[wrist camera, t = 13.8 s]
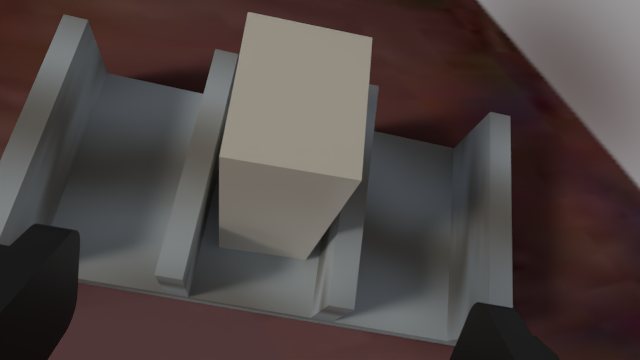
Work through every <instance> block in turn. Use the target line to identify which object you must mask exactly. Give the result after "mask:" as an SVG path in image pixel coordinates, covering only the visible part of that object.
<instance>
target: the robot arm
mask: <svg viewBox="0 0 640 360" xmlns="http://www.w3.org/2000/svg"><path fill="white" fill-rule="evenodd" d="M79 256H80V234H79V232H78V231H77V230H72V229H66V228H61V227H55V226H49V225H44V224H38V223H35V224H33V225H32V226H30V227H29V228H28V229H27V230H26V231H25V232H24V233H23V234H22V235H21V236H20V237H19V238H18V239H16V240H15V241H14V242H13V243H12V244H11V245H10V246H7V245H1V244H0V360H48V358H49V356H50V355H51V353H52V352H53V350H54V349H55V347H56V346H57V344H58V343H59V341H60V340H61V338H62V337H63V335H64V333H65V332H66V330H67V329H68V327H69V324H70V322H71V320H72V317H73V314H74V311H75V307H76V301H77V290H78V273H79ZM450 360H560V359H559V358H558V356H557V355H556V354H555V353H554V352H553V351H551V350H550V349H549V348H548V347H547V346H546V345H545V344H544V343H543V342H542V341H540V340H539V339H538V338H537V337H536V336H532V334H531V333H530V331H529V329H528V328H527V326H526V325H525V323H524V322H523V320H522V318H521V317H520V315H519V314H518V312H517V311H516V310H515V309H513V308H510V307H504V306H499V305H493V304H487V303H481V302H477V303H475V304H474V305H473V306H472V308H471V309H470V311H469V314H468V316H467V318H466V321H465V323H464V326H463V328H462V331H461V333H460V336H459V338H458V340H457V343H456V345H455V348H454V350H453V353H452V355H451V358H450Z"/></svg>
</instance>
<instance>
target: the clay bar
mask: <svg viewBox="0 0 640 360" xmlns="http://www.w3.org/2000/svg"><path fill="white" fill-rule="evenodd" d="M371 49H372V38H371V37H366V36H361V35H357V34H352V33H347V32H342V31H337V30H333V29H328V28H323V27H318V26H313V25H309V24H304V23H299V22H294V21H289V20H284V19H280V18H275V17H270V16H265V15H260V14H256V13H251V12H248V14H247V20H246V25H245V30H244V35H243V40H242V45H241V50H240V55H239V60H238V65H237V70H236V75H235V80H234V85H233V90H232V95H231V100H230V105H229V110H228V115H227V120H226V125H225V130H224V135H223V140H222V145H221V150H220V155H219V247H221V248H228V249H235V250H242V251H248V252H255V253H262V254H269V255H276V256H283V257H290V258H296V259H303V260H306V259H307V257H308V256H309V254H310V253H311V252H312V250H313V249H314V247H315V246H316V245H317V243H318V242H319V240H320V239H321V237H322V236H323V235H324V233H325V232H326V230H327V229H328V228H329V226H330V225H331V223H332V222H333V220H334V219H335V218H336V216H337V215H338V213H339V212H340V211H341V209H342V208H343V206H344V205H345V204H346V202H347V201H348V199H349V198H350V196H351V195H352V194H353V192H354V191H355V189H356V188H357V187H358V185H359V184H360V182H361V181H362V169H363V156H364V142H365V129H366V116H367V103H368V89H369V76H370V63H371Z"/></svg>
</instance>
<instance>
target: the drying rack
mask: <svg viewBox="0 0 640 360" xmlns="http://www.w3.org/2000/svg"><path fill="white" fill-rule="evenodd" d="M237 65H238V54H235V53H230V52H226V51H222V50H217V49H215V53H214V57H213V60H212V64H211V68H210V71H209V75H208V79H207V82H206V86H205V90H204V93H203V94H201V93H196V92H192V91H187V90H183V89H178V88H173V87H169V86H164V85H160V84H155V83H150V82H146V81H141V80H137V79H132V78H127V77H123V76H118V75H114V74H109V73H107V71H106V69H105V66H104V63H103V60H102V57H101V55H100V52H99V49H98V46H97V43H96V41H95V38H94V35H93V32H92V30H91V27H90V24H89V21H88V20H86V19H81V18H77V17H72V16H68V15H63V17H62V19H61V22H60V24H59V26H58V29H57V31H56V33H55V36H54V38H53V40H52V43H51V45H50V47H49V50H48V52H47V54H46V56H45V59H44V61H43V63H42V66H41V68H40V70H39V73H38V75H37V77H36V80H35V82H34V84H33V87H32V89H31V91H30V93H29V96H28V98H27V100H26V103H25V105H24V107H23V110H22V112H21V114H20V117H19V119H18V121H17V124H16V126H15V128H14V130H13V133H12V135H11V137H10V140H9V142H8V144H7V147H6V149H5V151H4V154H3V156H2V158H1V161H0V244H1V245H7V246H10V245H11V244H12V243H13V242H14V241H15V240H16V239H18V238H19V237H20V236H21V235H22V234H23V233H24V232H25V231H26V230H27V229H28V228H29V227H30V226H32V225H33V224H35V223H38V224H44V225H49V226H55V227H61V228H66V229H72V230H77V231H78V232H79V234H80V256H79V273H78V283H84V284H90V285H96V286H102V287H108V288H114V289H120V290H126V291H132V292H137V293H143V294H149V295H155V296H161V297H167V298H173V299H179V300H185V301H191V302H197V303H203V304H209V305H215V306H220V307H226V308H232V309H238V310H244V311H250V312H256V313H262V314H268V315H274V316H280V317H286V318H292V319H297V320H303V321H309V322H315V323H321V324H327V325H333V326H339V327H345V328H351V329H357V330H363V331H369V332H375V333H380V334H386V335H392V336H398V337H404V338H410V339H416V340H422V341H428V342H434V343H440V344H446V345H452V346H455V345H456V343H457V340H458V338H459V336H460V333H461V331H462V328H463V326H464V323H465V321H466V318H467V316H468V314H469V311H470V309H471V308H472V306H473V305H474V304H475V303H477V302H481V303H487V304H493V305H499V306H504V307H510V308H513V282H512V206H511V131H510V116H507V115H502V114H498V113H493V112H490V113H489V114H488V115H487V116H486V117H485V118H484V119H483V120H482V121H481V122H480V123H479V124H478V125H477V126H476V127H475V128H474V129H473V130H472V131H471V132H470V133H469V134H468V135H467V136H466V137H465V138H464V139H463V140H462V141H461V142H460V143H459V144H458V145H457V146H456V147H455V148H450V147H445V146H441V145H436V144H431V143H427V142H422V141H418V140H413V139H408V138H404V137H399V136H395V135H390V134H385V133H381V132H376V131H374V125H375V116H376V107H377V98H378V89H379V86H375V85H371V84H369V89H368V103H367V116H366V129H365V142H364V156H363V169H362V181H361V182H360V184H359V185H358V187H357V188H356V189H355V191H354V192H353V194H352V195H351V196H350V198H349V199H348V201H347V202H346V204H345V205H344V206H343V208H342V209H341V211H340V212H339V213H338V215H337V216H336V218H335V219H334V220H333V222H332V223H331V225H330V226H329V228H328V229H327V230H326V232H325V233H324V235H323V236H322V237H321V239H320V240H319V242H318V243H317V245H316V246H315V247H314V249H313V250H312V252H311V253H310V254H309V256H308V257H307V259H306V260H303V259H296V258H290V257H283V256H276V255H269V254H262V253H255V252H248V251H242V250H235V249H228V248H221V247H219V155H220V150H221V145H222V140H223V135H224V130H225V125H226V120H227V115H228V110H229V105H230V100H231V95H232V90H233V85H234V80H235V75H236V70H237Z"/></svg>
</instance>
